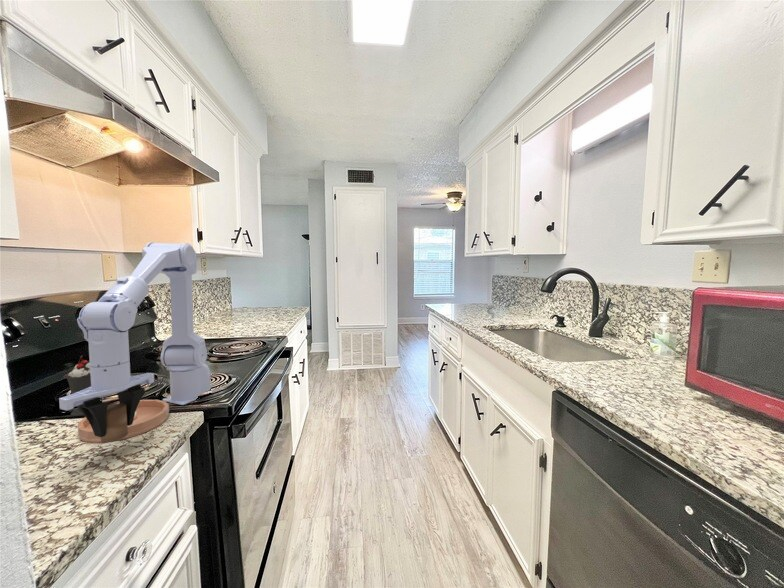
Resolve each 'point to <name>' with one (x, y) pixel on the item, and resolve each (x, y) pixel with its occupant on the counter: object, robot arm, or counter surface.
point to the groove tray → (144, 420)
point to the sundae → (79, 380)
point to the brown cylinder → (115, 422)
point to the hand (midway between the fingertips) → (114, 429)
